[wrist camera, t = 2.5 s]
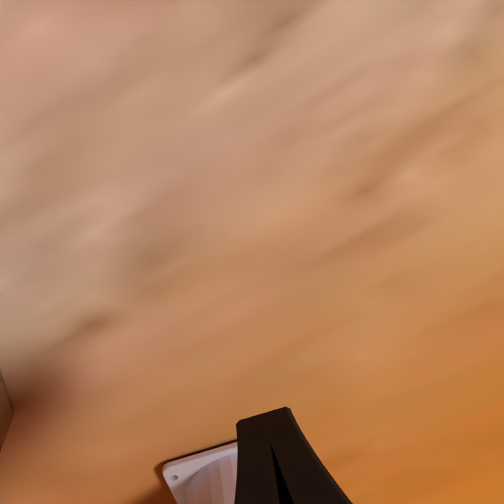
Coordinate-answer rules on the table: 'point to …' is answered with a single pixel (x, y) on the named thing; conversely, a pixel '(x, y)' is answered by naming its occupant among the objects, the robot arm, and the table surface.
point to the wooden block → (4, 412)
